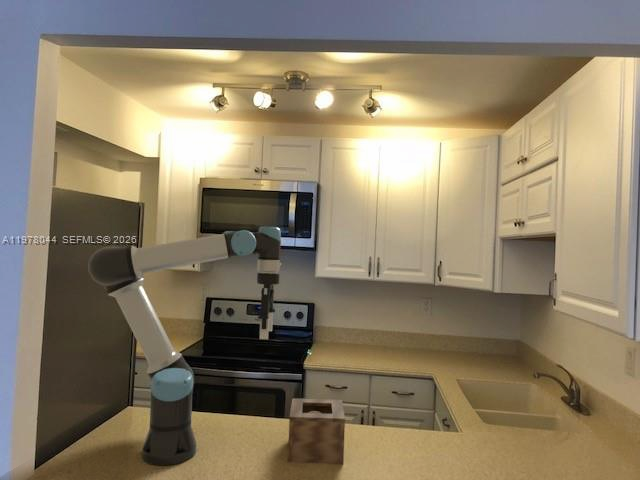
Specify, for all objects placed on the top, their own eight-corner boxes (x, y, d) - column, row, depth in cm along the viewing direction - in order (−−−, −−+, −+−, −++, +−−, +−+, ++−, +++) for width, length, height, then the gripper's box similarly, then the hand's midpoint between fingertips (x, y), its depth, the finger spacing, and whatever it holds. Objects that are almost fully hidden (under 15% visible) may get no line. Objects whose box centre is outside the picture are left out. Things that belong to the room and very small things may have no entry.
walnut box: (287, 462, 130) (289, 416, 131) (291, 438, 146) (292, 398, 147) (343, 464, 131) (344, 418, 131) (340, 440, 147) (341, 399, 147)
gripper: (276, 275, 142) (273, 343, 141) (282, 270, 167) (280, 328, 166) (252, 274, 142) (249, 342, 141) (261, 269, 167) (259, 327, 166)
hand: (266, 335), depth 154 cm, fingers open, 13 cm apart
